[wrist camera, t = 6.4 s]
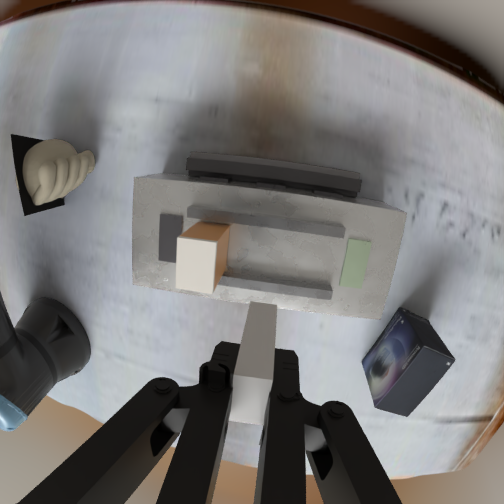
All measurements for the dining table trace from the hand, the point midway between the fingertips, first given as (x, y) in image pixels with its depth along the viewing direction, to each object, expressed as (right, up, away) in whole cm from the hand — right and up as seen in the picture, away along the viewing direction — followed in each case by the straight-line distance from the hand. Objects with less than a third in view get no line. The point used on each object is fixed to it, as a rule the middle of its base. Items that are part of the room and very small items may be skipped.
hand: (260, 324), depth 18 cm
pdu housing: (+1, +6, +21) cm, 22 cm away
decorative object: (-26, +16, +21) cm, 37 cm away
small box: (+21, -9, +24) cm, 33 cm away
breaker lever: (-4, +5, +14) cm, 15 cm away
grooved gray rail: (+2, +14, +19) cm, 23 cm away
